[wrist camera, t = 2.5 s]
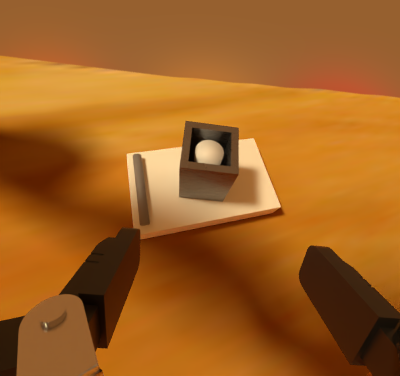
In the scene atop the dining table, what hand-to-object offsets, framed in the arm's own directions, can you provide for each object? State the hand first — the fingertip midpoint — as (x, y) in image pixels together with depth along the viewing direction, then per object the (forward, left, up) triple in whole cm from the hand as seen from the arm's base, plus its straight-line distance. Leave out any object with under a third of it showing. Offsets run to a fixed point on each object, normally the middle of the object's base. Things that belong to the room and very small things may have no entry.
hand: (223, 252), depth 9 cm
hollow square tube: (+3, +11, -15) cm, 19 cm away
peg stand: (+3, +11, -18) cm, 22 cm away
